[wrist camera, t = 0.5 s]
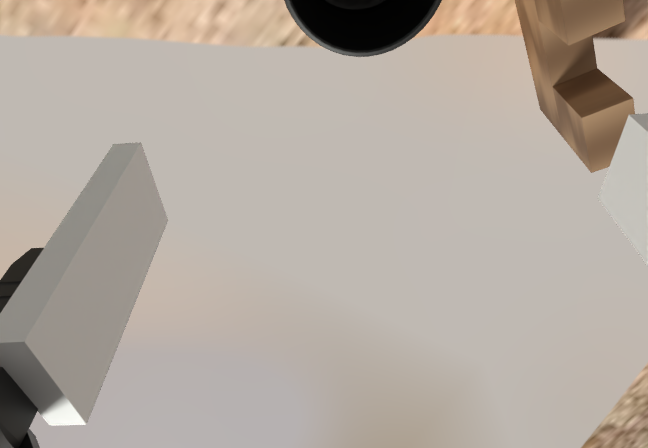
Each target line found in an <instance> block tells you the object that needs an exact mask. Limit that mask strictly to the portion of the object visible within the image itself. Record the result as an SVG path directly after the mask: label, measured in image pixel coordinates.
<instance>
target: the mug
mask: <svg viewBox="0 0 648 448" xmlns="http://www.w3.org/2000/svg"><path fill="white" fill-rule="evenodd" d="M284 1H285V4H286V6H287V8H288V10H289V12H290V14H291V16H292V17H293V19H294V20H295V22H296V23H297V25H298V26H299V27H300V28H301V30H302V31H303V32H304V33H305V34H306V35H307V36H308V37H310V38H311V39H312V40H313V41H315V42H316V43H318V44H319V45H320V46H322V47H324V48H326V49H328V50H330V51H333V52H336V53H339V54H342V55H348V56H356V57H362V56H363V57H365V56H373V55H379V54H382V53H386V52H388V51H391V50H394V49H396V48H397V47H399V46H401V45H403V44H405V43H406V42H408V41H409V40H410V39H412V38H413V37H415V36H416V35H417V34H418V33H419V32H420V31H421V30H422V29H423V28H424V27H425V26H426V24H427V23H428V22H429V21H430V19H431V18H432V17H433V15H434V14H435V12H436V10H437V9H438V7H439V5H440V3H441V1H442V0H284Z"/></svg>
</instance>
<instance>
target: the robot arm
mask: <svg viewBox="0 0 648 448" xmlns="http://www.w3.org/2000/svg"><path fill="white" fill-rule="evenodd" d="M598 200H599V201H600V202H601V204H602V205H603V206H604V208H605V209H606V210H607V212H608V213H609V214H610V216H611V217H612V218H613V220H614V221H615V222H616V224H617V225H618V226H619V228H620V229H621V231H622V232H623V233H624V235H625V236H626V237H627V239H628V240H629V241H630V243H631V244H632V245H633V247H634V248H635V249H636V251H637V252H638V253H639V255H640V256H641V257H642V259H643V260H644V261H645V263H646V264H647V265H648V114H631V115H629V116H628V118H627V121H626V124H625V126H624V129H623V132H622V134H621V137H620V140H619V142H618V145H617V148H616V150H615V153H614V156H613V158H612V161H611V164H610V166H609V169H608V172H607V174H606V178H605V180H604V183H603V185H602V188H601V191H600V193H599V196H598ZM167 221H168V219H167V216H166V213H165V210H164V207H163V204H162V201H161V198H160V196H159V193H158V190H157V187H156V184H155V181H154V178H153V176H152V173H151V170H150V167H149V164H148V161H147V158H146V156H145V153H144V150H143V147H142V144H141V143H125V144H113V146H112V147H111V149H110V150H109V152H108V153H107V155H106V156H105V158H104V159H103V161H102V162H101V164H100V165H99V167H98V168H97V170H96V171H95V173H94V174H93V176H92V177H91V179H90V180H89V182H88V183H87V185H86V186H85V188H84V189H83V191H82V192H81V194H80V195H79V197H78V198H77V200H76V201H75V203H74V204H73V206H72V207H71V209H70V210H69V212H68V213H67V215H66V216H65V218H64V219H63V221H62V222H61V224H60V225H59V227H58V228H57V230H56V231H55V233H54V234H53V236H52V237H51V238H50V240H49V241H48V243H47V245H46V246H45V248H31V249H30V250H29V251H28V252H26V253H25V254H24V255H23V256H21V257H20V258H19V259H18V260H16V261H15V262H14V263H13V264H12V265H11V266H10V267H9V269H8V270H7V272H6V273H5V274H4V276H3V277H2V279H1V280H0V448H40V447H39V445H38V442H37V439H36V436H35V435H34V434H33V433H32V431H31V430H30V429H29V427H30V425H31V423H32V421H33V419H34V417H35V415H36V413H37V411H38V412H39V413H40V414H41V416H42V417H43V418H44V419H45V420H46V421H47V423H48V424H49V425H50V426H54V425H84V424H87V422H88V419H89V417H90V415H91V412H92V410H93V407H94V404H95V402H96V399H97V397H98V395H99V392H100V390H101V387H102V384H103V382H104V379H105V377H106V374H107V372H108V369H109V367H110V364H111V362H112V359H113V357H114V354H115V352H116V349H117V347H118V344H119V342H120V339H121V337H122V334H123V332H124V329H125V327H126V324H127V322H128V319H129V317H130V314H131V312H132V309H133V307H134V304H135V302H136V299H137V297H138V294H139V292H140V289H141V287H142V284H143V282H144V279H145V277H146V274H147V272H148V269H149V267H150V264H151V262H152V259H153V257H154V254H155V252H156V249H157V247H158V244H159V242H160V239H161V237H162V234H163V232H164V229H165V227H166V224H167Z"/></svg>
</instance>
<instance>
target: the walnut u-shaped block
mask: <svg viewBox="0 0 648 448" xmlns="http://www.w3.org/2000/svg"><path fill="white" fill-rule="evenodd" d="M515 3H516V7H517V11H518V16H519V20H520V24H521V28H522V33H523V37H524V41H525V45H526V50H527V54H528V58H529V63H530V67H531V71H532V75H533V80H534V84H535V88H536V92H537V97H538V101H539V106H540V109H541V111H542V112H543V113H544V114H545V116H546V117H547V118H548V119H549V121H550V122H551V123H552V124H553V126H554V127H555V128H556V129H557V131H558V132H559V133H560V134H561V136H562V137H563V138H564V139H565V141H566V142H567V143H568V144H569V146H570V147H571V148H572V149H573V150H574V152H575V153H576V154H577V155H578V157H579V158H580V159H581V160H582V161H583V163H584V164H585V165H586V167H587V168H588V169H589V170H590V172H591V173H592V172H595V171H598V170H601V169H604V168H607V167H609V166H610V164H611V161H612V158H613V156H614V153H615V150H616V148H617V145H618V142H619V140H620V137H621V134H622V132H623V129H624V126H625V124H626V121H627V118H628V116H629V115H631V114H635V111H634V101H633V98H632V97H631V96H630V95H629V94H628V93H626V92H625V91H624V90H623V89H622V88H620V87H619V86H618V85H617V84H615V83H614V82H613V81H612V80H611V79H609V78H608V77H607V76H606V75H605V74H603V73H602V72H601V71H600V70H599V69H597V64H596V57H595V51H594V44H593V37H592V35H594V34H597V33H599V32H601V31H604V30H606V29H608V28H610V27H613V26H615V25H617V24H620V23H622V22H624V21H625V14H624V5H623V0H515Z"/></svg>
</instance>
